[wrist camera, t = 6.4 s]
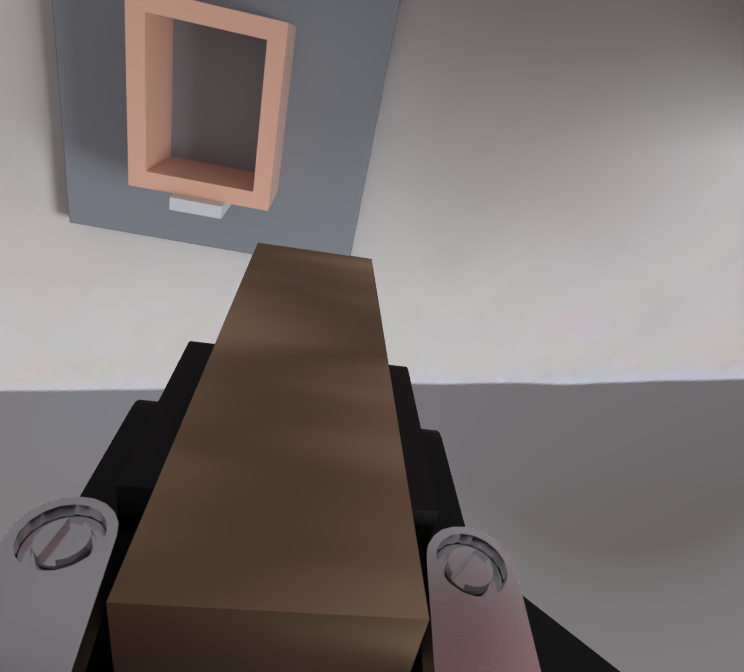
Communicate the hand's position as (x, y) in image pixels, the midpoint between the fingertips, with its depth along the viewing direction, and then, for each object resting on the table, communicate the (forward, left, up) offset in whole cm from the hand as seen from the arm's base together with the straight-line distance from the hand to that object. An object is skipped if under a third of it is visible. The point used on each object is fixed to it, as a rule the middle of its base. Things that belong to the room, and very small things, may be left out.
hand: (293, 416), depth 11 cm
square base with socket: (+6, -3, -22) cm, 23 cm away
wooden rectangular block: (0, 0, -4) cm, 4 cm away
